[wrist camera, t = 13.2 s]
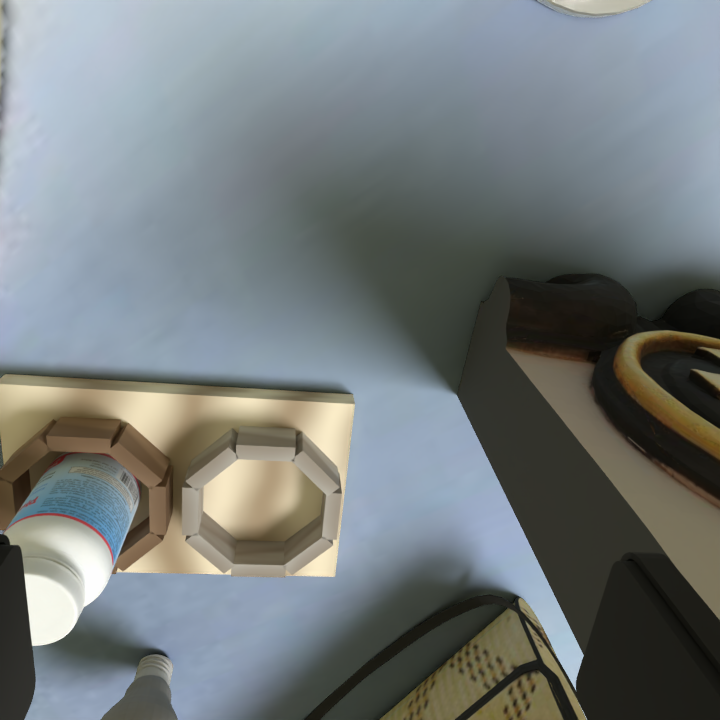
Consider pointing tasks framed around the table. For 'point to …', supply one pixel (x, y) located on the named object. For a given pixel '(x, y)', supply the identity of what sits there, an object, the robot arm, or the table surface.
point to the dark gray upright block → (601, 430)
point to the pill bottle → (72, 537)
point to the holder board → (186, 436)
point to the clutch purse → (482, 673)
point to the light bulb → (147, 693)
